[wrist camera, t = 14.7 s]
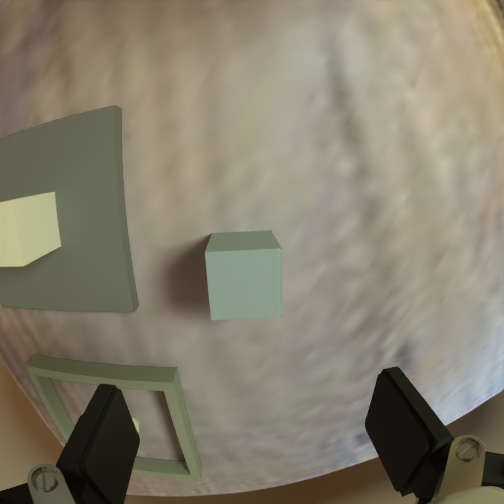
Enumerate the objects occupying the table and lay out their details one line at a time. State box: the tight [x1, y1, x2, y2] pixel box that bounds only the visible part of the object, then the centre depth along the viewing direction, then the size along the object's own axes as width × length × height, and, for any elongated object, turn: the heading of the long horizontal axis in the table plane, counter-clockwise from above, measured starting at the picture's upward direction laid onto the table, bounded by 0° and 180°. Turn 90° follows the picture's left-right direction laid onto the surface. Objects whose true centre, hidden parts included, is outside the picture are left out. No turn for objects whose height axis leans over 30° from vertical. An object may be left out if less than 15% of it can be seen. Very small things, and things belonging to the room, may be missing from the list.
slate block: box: [205, 231, 282, 320], centre depth 23 cm, size 5×5×6 cm
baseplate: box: [0, 105, 139, 312], centre depth 23 cm, size 18×18×2 cm
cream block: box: [0, 192, 61, 267], centre depth 19 cm, size 5×5×6 cm
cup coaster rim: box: [25, 355, 202, 479], centre depth 29 cm, size 19×19×2 cm
